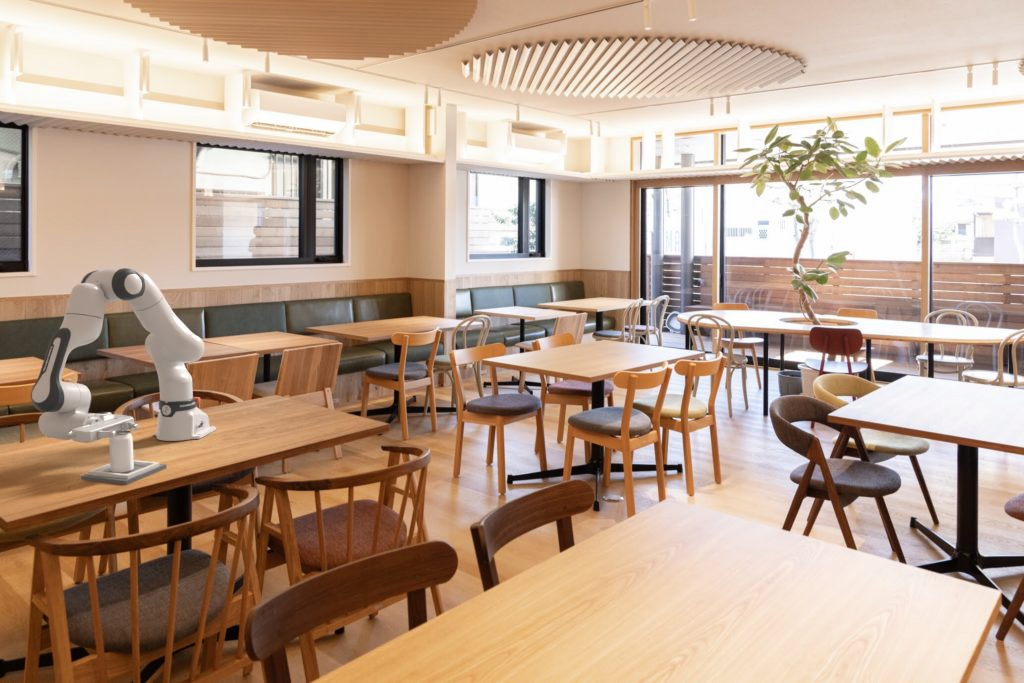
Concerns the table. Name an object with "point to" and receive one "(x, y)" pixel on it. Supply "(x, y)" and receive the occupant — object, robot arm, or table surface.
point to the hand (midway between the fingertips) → (126, 430)
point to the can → (121, 452)
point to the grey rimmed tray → (137, 473)
